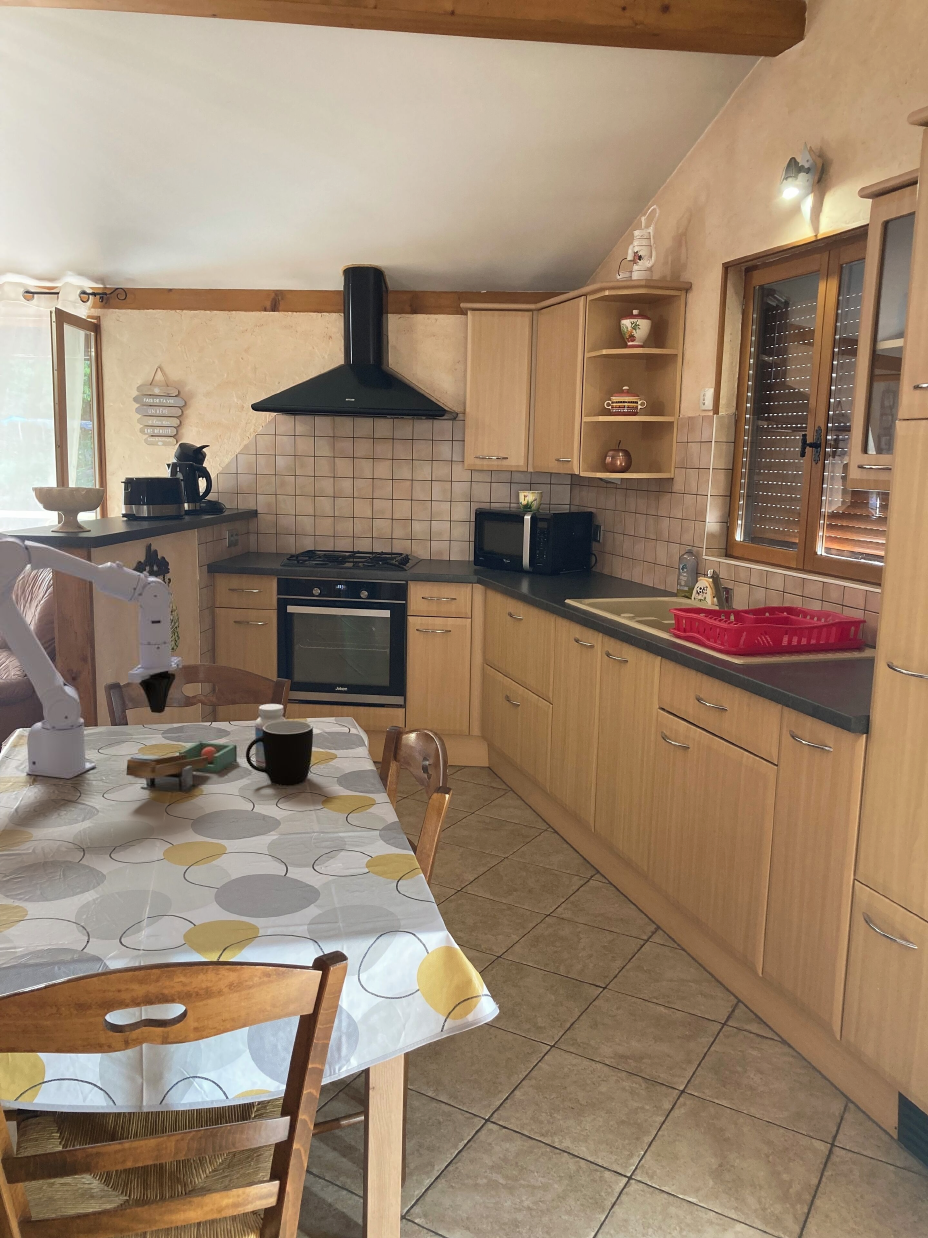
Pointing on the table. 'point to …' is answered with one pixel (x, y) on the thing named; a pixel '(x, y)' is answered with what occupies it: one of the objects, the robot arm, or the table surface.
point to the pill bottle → (266, 716)
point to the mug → (285, 751)
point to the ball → (209, 753)
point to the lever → (162, 765)
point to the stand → (172, 782)
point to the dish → (221, 759)
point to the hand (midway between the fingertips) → (157, 712)
